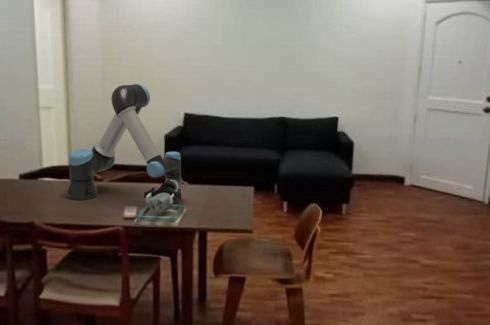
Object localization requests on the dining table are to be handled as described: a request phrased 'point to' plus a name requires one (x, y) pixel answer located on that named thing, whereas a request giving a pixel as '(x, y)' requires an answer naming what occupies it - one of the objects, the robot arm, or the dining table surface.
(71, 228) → the dining table surface
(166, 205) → the spool
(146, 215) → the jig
